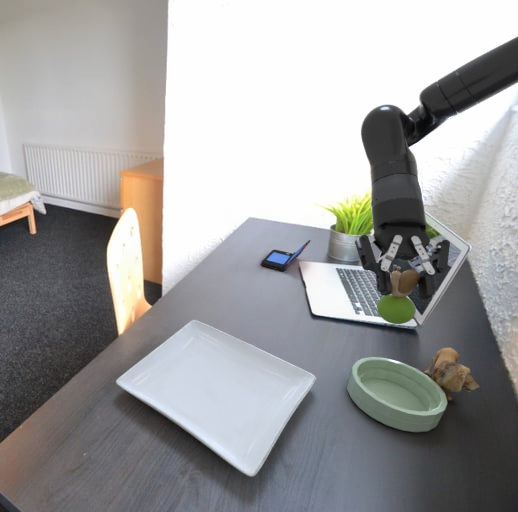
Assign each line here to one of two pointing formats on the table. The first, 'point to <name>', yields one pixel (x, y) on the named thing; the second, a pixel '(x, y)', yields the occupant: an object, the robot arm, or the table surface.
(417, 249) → the robot arm
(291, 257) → the handheld console
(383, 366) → the dish
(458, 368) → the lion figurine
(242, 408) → the square plate
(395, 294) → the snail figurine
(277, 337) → the table surface
